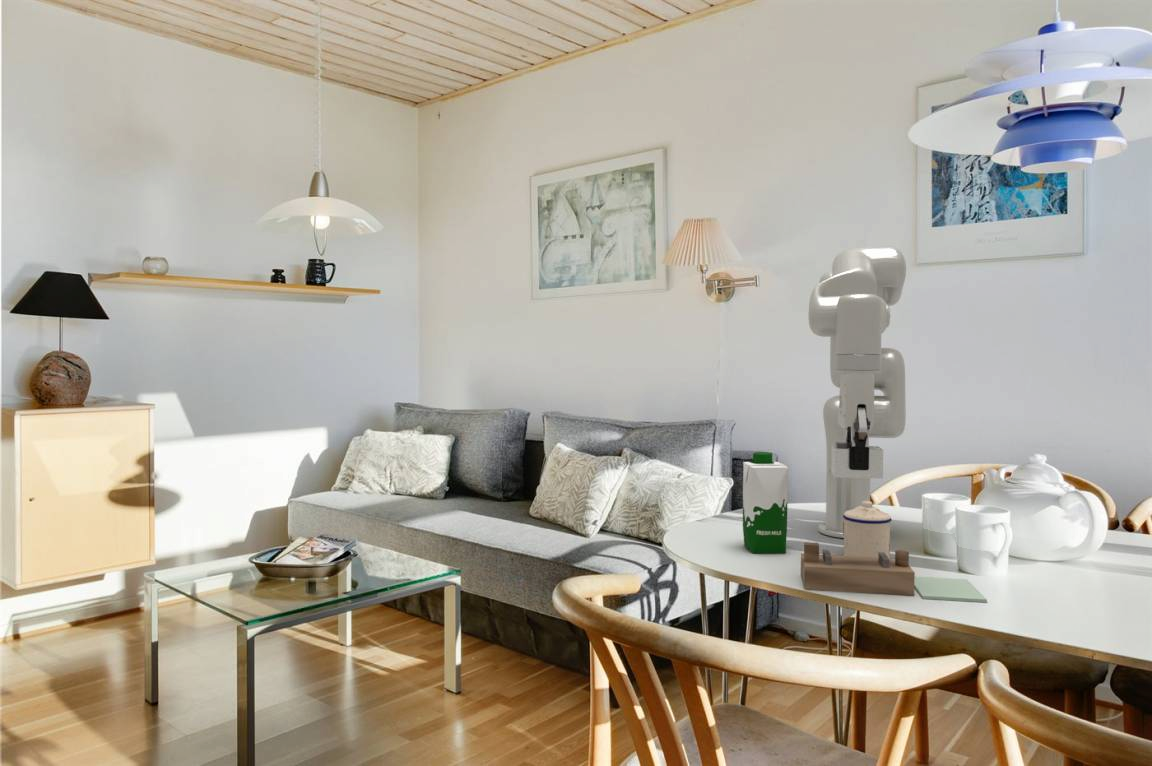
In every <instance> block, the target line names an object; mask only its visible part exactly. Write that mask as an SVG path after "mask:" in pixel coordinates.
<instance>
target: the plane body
mask: <svg viewBox="0 0 1152 766" xmlns="http://www.w3.org/2000/svg"><path fill="white" fill-rule="evenodd" d="M803 544H804V545H803V546H804V547H803V553H801V554H800V578H801V581H802V585H803V588H804V590H810V591H811V590H813V591H827V592H828V591H829V592H831V591H832V592H846V593H847V592H848V593H862V594H863V593H865V594H879V595H882V594H883V595H894V596H895V595H897V596H911V597H912V596H915V588H914V576H915V571H914V570H913V568H912V567H911V566H910V564H909V561H910V560H909V557H910V553H909V551H908V550H903V549H896V550H895V551H894V552H895V553H894V554H895V555H894V558H891V557H890V558H888V557H887V555H886V554H885V553H884V552H878V558H876V557H856V556H844V555H835V554H833V555H832V554H831V552H830V550H829V549H822V554H820V545H819V542H809V541H808V542H806V541H805V542H803Z"/></svg>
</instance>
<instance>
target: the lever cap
mask: <svg viewBox="0 0 1152 766" xmlns="http://www.w3.org/2000/svg"><path fill="white" fill-rule="evenodd" d="M849 447H851V442H835V445H832V458H831V473H832V474H833V476H834V477H847V478H870V479H883V477H884V475H883V474H884V449H883V448H881V447H880V446H878V445H875V446H873V445H869V469H868V470H851V469H850V468H849Z"/></svg>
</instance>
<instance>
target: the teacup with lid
mask: <svg viewBox="0 0 1152 766" xmlns="http://www.w3.org/2000/svg"><path fill="white" fill-rule="evenodd" d="M873 504H874V503H873V502H872V501H871V500H870V501H863V502H862V506H858V507H856V508H855V509H853V510H848V511H846V512H845V513H844V515H843V518H844V520H843V522H842V532H843V535H844V538H843V556H856V557H876V558H878V552H884V553H885V554H886V555H887V557H888V558H891V557H890V556H891V554H890V552H891V551H890V550H891V548H890V547H891V522H892V519H893V518H892V516H891V515H890V514H889V513H887V512H884V511H882V510H880V509H879V508H878V507H875V506H873Z"/></svg>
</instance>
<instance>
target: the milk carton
mask: <svg viewBox="0 0 1152 766" xmlns="http://www.w3.org/2000/svg"><path fill="white" fill-rule="evenodd" d="M742 465H743V467H742V469H743V470H742V471H743V473H742V474H743V478H742V532H743V533H742V534H743V545H744V547H746V548H747V549H748V551H749V552H751V553H752V554H786V553H787V536H788V535H787V534H788V499H789V498H788V496H789V495H788V484H789V483H788V481H789V467H788V466H787V465H786V464H784V463H781V462H779V461H773V452H767V451H765V452H764V451H758V452H756V451H755V452H753V453H752V461H743V463H742Z"/></svg>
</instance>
